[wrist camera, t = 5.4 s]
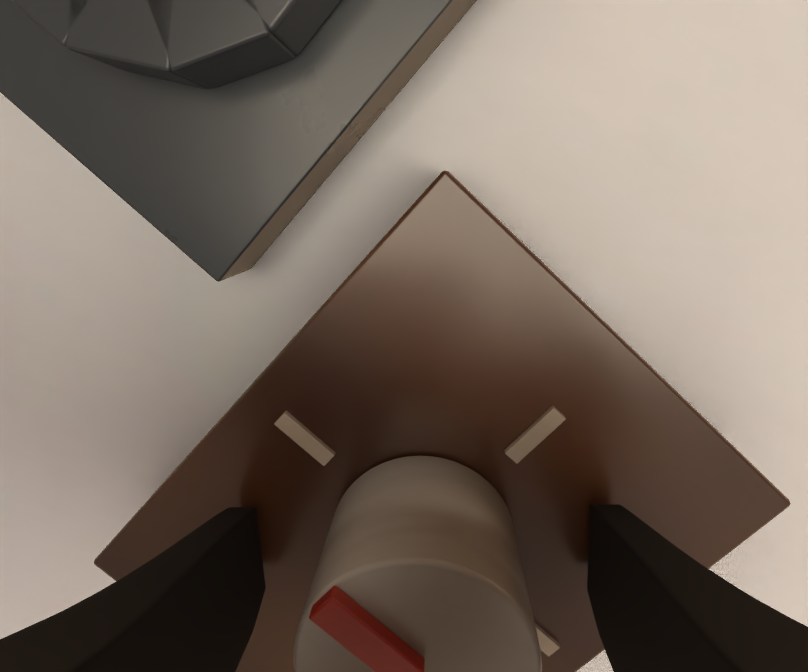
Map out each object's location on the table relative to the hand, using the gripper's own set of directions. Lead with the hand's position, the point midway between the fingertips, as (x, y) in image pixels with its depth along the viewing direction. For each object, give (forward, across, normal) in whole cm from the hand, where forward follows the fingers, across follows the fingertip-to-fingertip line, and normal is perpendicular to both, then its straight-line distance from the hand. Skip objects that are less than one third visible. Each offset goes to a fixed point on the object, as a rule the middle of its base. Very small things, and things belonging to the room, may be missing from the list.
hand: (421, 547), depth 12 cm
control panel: (+3, 0, 0) cm, 3 cm away
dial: (0, 0, 0) cm, 0 cm away
